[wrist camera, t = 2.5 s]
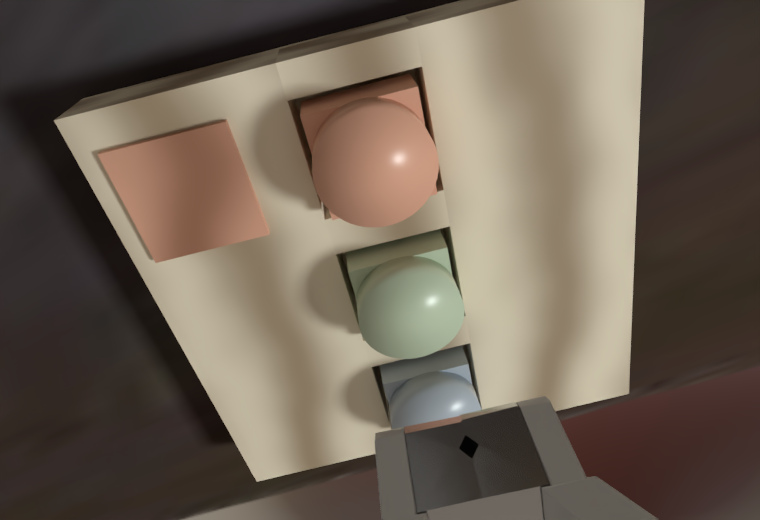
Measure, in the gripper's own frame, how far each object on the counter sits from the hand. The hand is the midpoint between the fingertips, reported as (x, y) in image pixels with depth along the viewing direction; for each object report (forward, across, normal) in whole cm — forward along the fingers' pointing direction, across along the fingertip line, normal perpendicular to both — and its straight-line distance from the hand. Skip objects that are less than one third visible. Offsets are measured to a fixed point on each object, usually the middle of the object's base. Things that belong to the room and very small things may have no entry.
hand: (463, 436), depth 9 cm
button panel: (+18, +1, +7) cm, 19 cm away
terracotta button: (+15, +1, 0) cm, 15 cm away
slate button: (+16, +1, +14) cm, 21 cm away
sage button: (+15, +1, +7) cm, 17 cm away
